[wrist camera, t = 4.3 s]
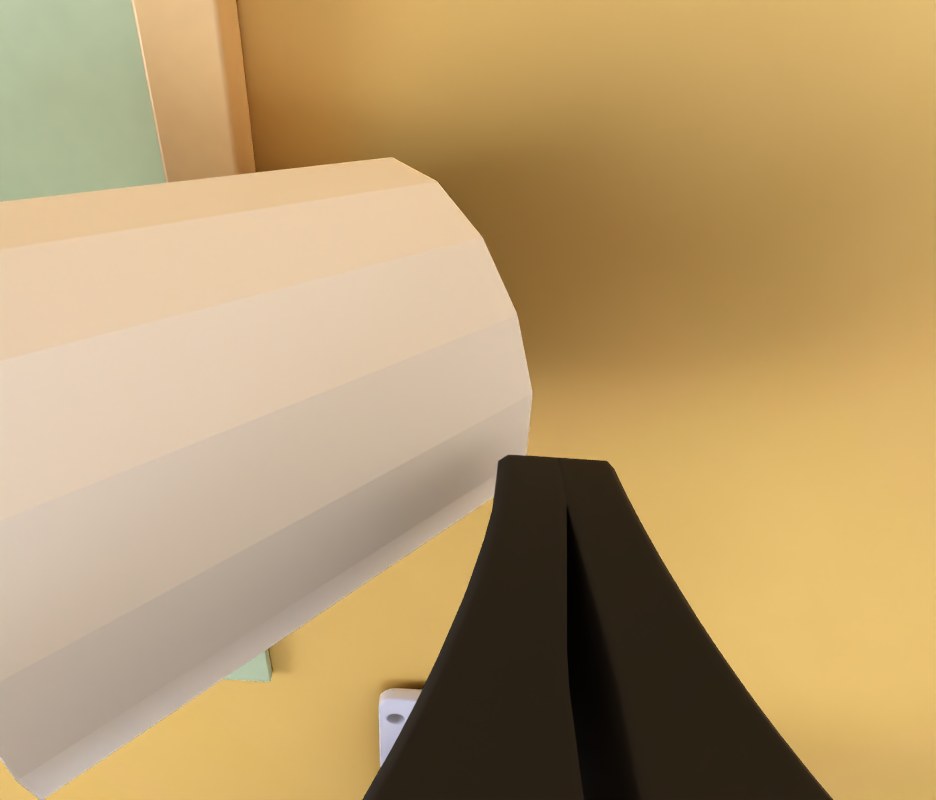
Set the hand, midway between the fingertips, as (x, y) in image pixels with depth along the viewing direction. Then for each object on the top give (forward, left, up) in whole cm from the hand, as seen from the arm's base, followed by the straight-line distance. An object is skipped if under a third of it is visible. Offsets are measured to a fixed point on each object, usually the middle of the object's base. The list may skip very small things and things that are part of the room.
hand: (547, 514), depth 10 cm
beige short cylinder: (0, +2, -4) cm, 4 cm away
